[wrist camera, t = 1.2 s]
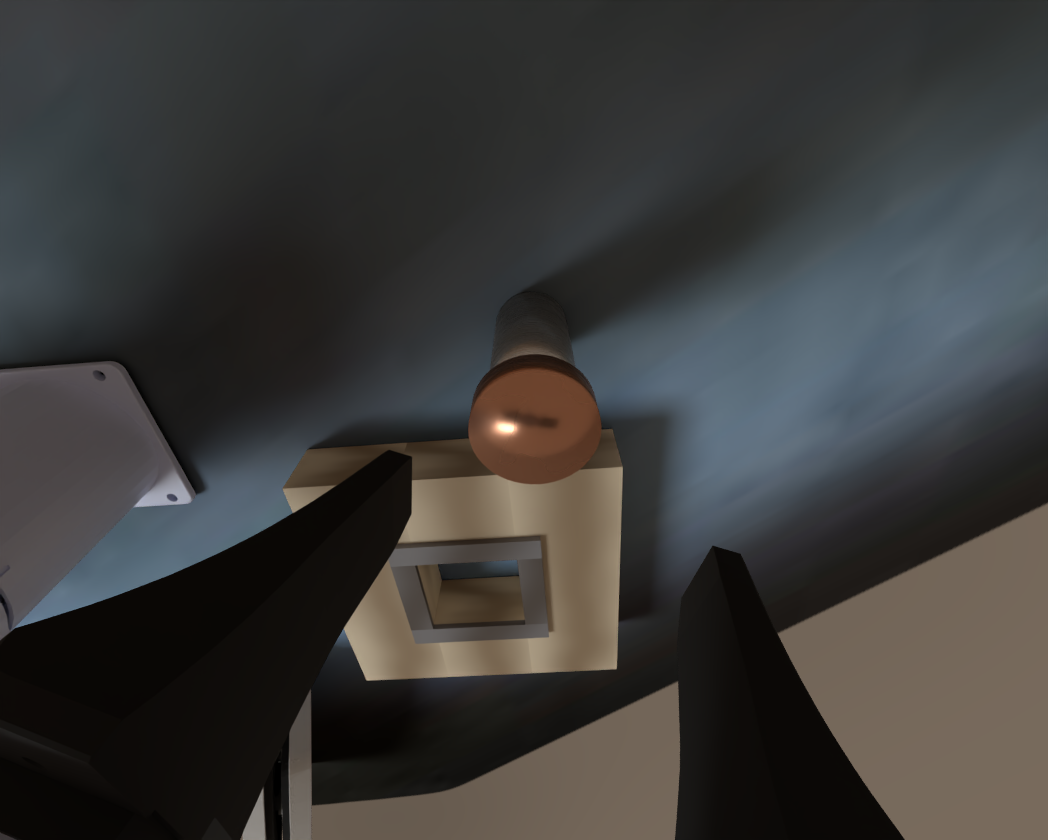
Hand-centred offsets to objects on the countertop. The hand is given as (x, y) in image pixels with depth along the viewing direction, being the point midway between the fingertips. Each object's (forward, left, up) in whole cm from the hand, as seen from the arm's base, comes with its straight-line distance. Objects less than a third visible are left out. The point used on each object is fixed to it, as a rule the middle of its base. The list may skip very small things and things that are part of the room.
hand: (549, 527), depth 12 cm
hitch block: (-4, -12, -11) cm, 17 cm away
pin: (0, +1, -11) cm, 11 cm away
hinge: (-20, -29, -12) cm, 37 cm away
